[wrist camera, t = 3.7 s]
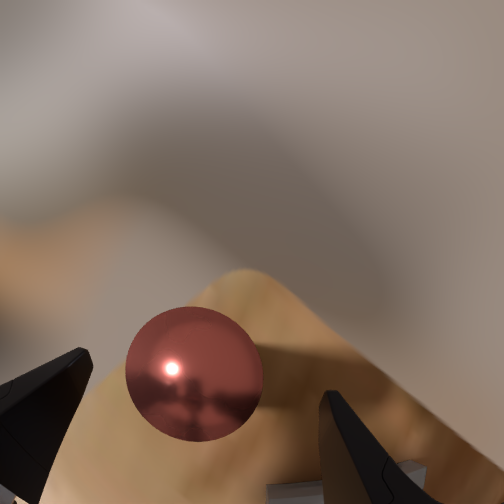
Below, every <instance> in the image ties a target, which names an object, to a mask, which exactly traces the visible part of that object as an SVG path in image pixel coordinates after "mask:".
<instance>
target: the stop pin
mask: <svg viewBox="0 0 504 504" xmlns="http://www.w3.org/2000/svg"><path fill="white" fill-rule="evenodd" d="M126 382H127V387H128V391H129V394H130V396H131V399H132V401H133V403H134V404H135V406H136V408H137V409H138V411H139V412H140V413H141V415H142V416H143V417H144V418H145V419H146V420H147V421H148V422H149V423H150V424H151V425H152V426H154V427H155V428H156V429H158V430H159V431H161V432H163V433H165V434H167V435H169V436H171V437H174V438H177V439H180V440H185V441H193V442H203V441H211V440H216V439H219V438H222V437H224V436H227V435H229V434H230V433H232V432H234V431H235V430H237V429H238V428H240V427H241V426H242V425H243V424H244V423H245V422H246V421H247V420H248V419H249V418H250V416H251V415H252V414H253V412H254V410H255V408H256V407H257V405H258V402H259V400H260V397H261V393H262V388H263V368H262V363H261V359H260V356H259V353H258V351H257V349H256V347H255V345H254V343H253V341H252V340H251V338H250V337H249V335H248V334H247V333H246V332H245V331H244V330H243V329H242V328H241V327H240V326H239V325H238V324H237V323H236V322H234V321H233V320H231V319H230V318H229V317H227V316H225V315H223V314H221V313H219V312H216V311H214V310H210V309H206V308H201V307H180V308H175V309H171V310H168V311H166V312H163V313H161V314H159V315H157V316H156V317H154V318H152V319H151V320H150V321H149V322H147V323H146V325H144V326H143V327H142V328H141V329H140V331H139V332H138V333H137V335H136V336H135V338H134V340H133V342H132V343H131V346H130V348H129V351H128V355H127V359H126Z"/></svg>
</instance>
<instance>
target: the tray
mask: <svg viewBox="0 0 504 504" xmlns="http://www.w3.org/2000/svg"><path fill="white" fill-rule="evenodd" d="M397 465H398V466H399V467H400V468H401V470H402V471H403V472H404V473H405V474H406V475H407V476H408V477H409V478H410V479H411V480H412V481H413V482H415V483H416V484H417V485H418V486H419V487H420V488H421V489H422V490H423V487H424V482H425V477H426V470H427V466H424V465H422V464H419V463H417V462H415V461H412V460H407V461H404V462H401V463H398V464H397ZM266 504H324V497H323V485H322V480H319V481H311V482H301V483H288V484H267V485H266Z"/></svg>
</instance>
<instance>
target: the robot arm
mask: <svg viewBox="0 0 504 504" xmlns="http://www.w3.org/2000/svg"><path fill="white" fill-rule="evenodd" d="M92 370H93V363H92V360H91V357H90V354H89V352H88V350H87V349H84V348H81V347H78V348H76V349H74V350H72V351H70V352H68V353H66V354H64V355H62V356H60V357H58V358H56V359H54V360H52V361H50V362H48V363H45V364H43V365H41V366H39V367H37V368H35V369H33V370H31V371H29V372H27V373H25V374H23V375H21V376H19V377H17V378H15V379H14V380H11V381H9V382H7V383H4V384H2V385H0V504H17V502H16V501H15V498H16V496H18V497H19V498H21V499H22V500H24V501H25V502H27V503H29V504H39V501H40V498H41V495H42V492H43V489H44V487H45V484H46V481H47V478H48V476H49V472H50V470H51V467H52V465H53V462H54V460H55V457H56V455H57V453H58V450H59V448H60V445H61V443H62V441H63V438H64V436H65V434H66V432H67V429H68V427H69V425H70V423H71V421H72V419H73V416H74V414H75V412H76V410H77V408H78V406H79V404H80V402H81V399H82V397H83V395H84V392H85V389H86V386H87V384H88V381H89V378H90V376H91V373H92ZM319 455H320V464H321V474H322V485H323V497H324V504H443V503H440V502H438V501H436V500H434V499H433V498H431V497H430V496H429V495H428V494H427V493H426V492H425V491H423V490H422V489H421V488H420V487H419V486H418V485H417V484H416V483H415V482H413V481H412V480H411V479H410V478H409V477H408V476H407V475H406V474H405V473H404V472H403V471H402V470H401V468H400V467H399V466H398V465H397V464H396V463H395V462H394V460H393V459H392V458H391V457H390V456H388V455H389V454H388V453H387V452H386V451H385V449H384V448H383V447H382V446H381V445H380V443H379V442H378V441H377V440H376V438H375V437H374V436H373V435H372V433H371V432H370V431H369V430H368V428H367V427H366V426H365V425H364V423H363V422H362V421H361V420H360V418H359V417H358V416H357V415H356V413H355V412H354V411H353V410H352V408H351V407H350V406H349V404H348V403H347V402H346V401H345V399H344V398H343V397H342V396H341V394H340V393H339V392H338V391H337V390H326V391H325V393H324V395H323V397H322V400H321V402H320V405H319ZM501 504H504V502H503V503H501Z"/></svg>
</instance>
